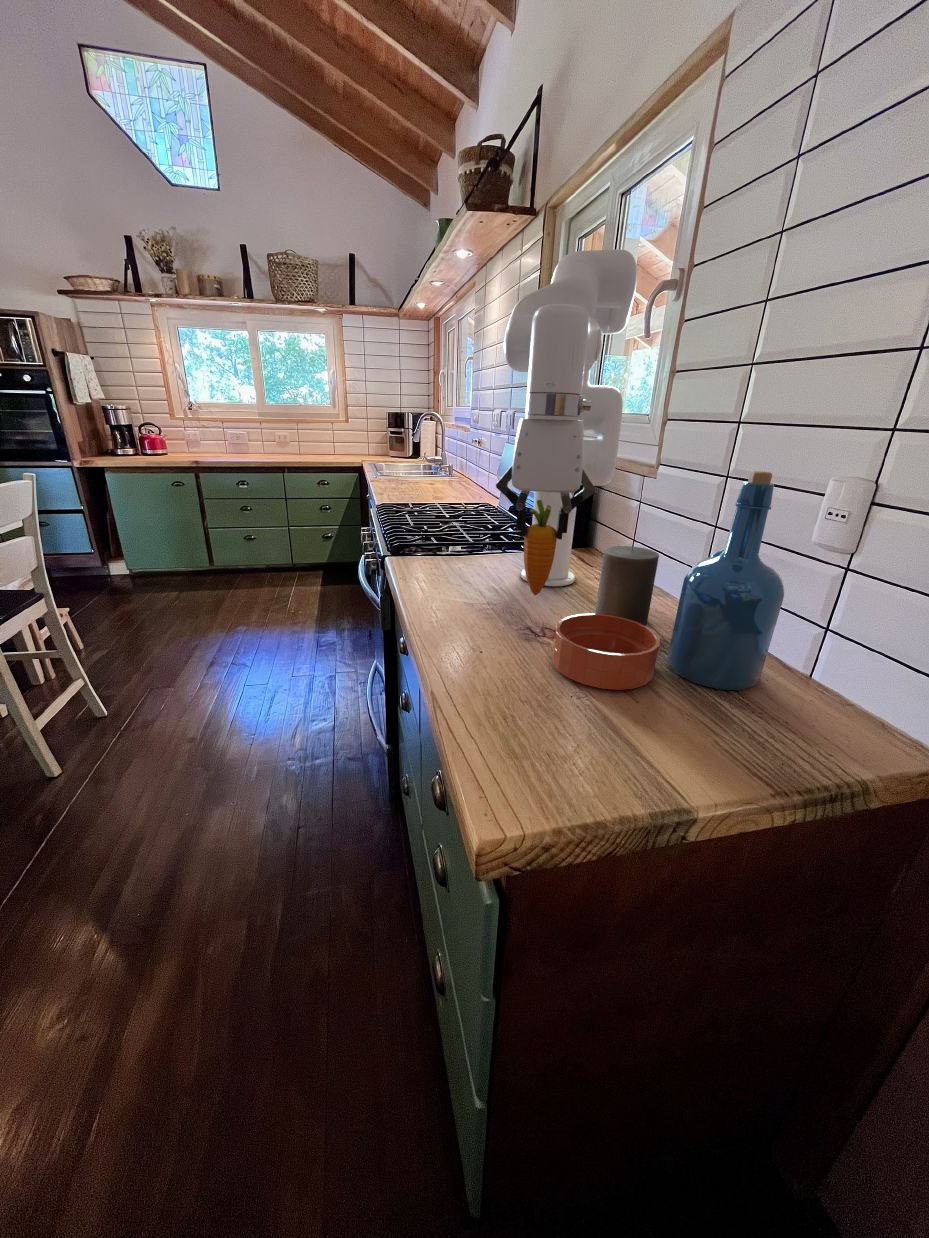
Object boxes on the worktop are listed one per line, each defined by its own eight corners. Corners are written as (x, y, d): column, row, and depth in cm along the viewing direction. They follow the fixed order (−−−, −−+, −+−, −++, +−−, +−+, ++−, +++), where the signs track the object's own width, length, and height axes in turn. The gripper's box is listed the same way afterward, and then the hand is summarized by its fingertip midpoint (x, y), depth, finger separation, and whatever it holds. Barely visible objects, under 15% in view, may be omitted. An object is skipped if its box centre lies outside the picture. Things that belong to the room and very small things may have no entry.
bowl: (550, 642, 85) (553, 610, 83) (641, 650, 83) (647, 617, 81) (554, 687, 71) (558, 650, 69) (663, 697, 70) (671, 659, 67)
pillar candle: (651, 633, 90) (667, 553, 84) (596, 629, 91) (608, 549, 85) (640, 613, 99) (654, 540, 93) (591, 610, 100) (601, 536, 94)
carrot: (549, 601, 78) (560, 505, 72) (518, 598, 79) (525, 502, 73) (551, 591, 82) (561, 499, 76) (521, 588, 83) (528, 497, 77)
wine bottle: (769, 701, 70) (837, 481, 58) (668, 684, 73) (714, 473, 61) (748, 659, 82) (801, 470, 70) (663, 646, 85) (700, 464, 74)
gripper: (610, 411, 72) (593, 534, 79) (493, 407, 74) (487, 528, 81) (618, 410, 65) (599, 545, 72) (490, 406, 67) (483, 538, 74)
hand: (540, 535), depth 77 cm, fingers closed on carrot, 5 cm apart
